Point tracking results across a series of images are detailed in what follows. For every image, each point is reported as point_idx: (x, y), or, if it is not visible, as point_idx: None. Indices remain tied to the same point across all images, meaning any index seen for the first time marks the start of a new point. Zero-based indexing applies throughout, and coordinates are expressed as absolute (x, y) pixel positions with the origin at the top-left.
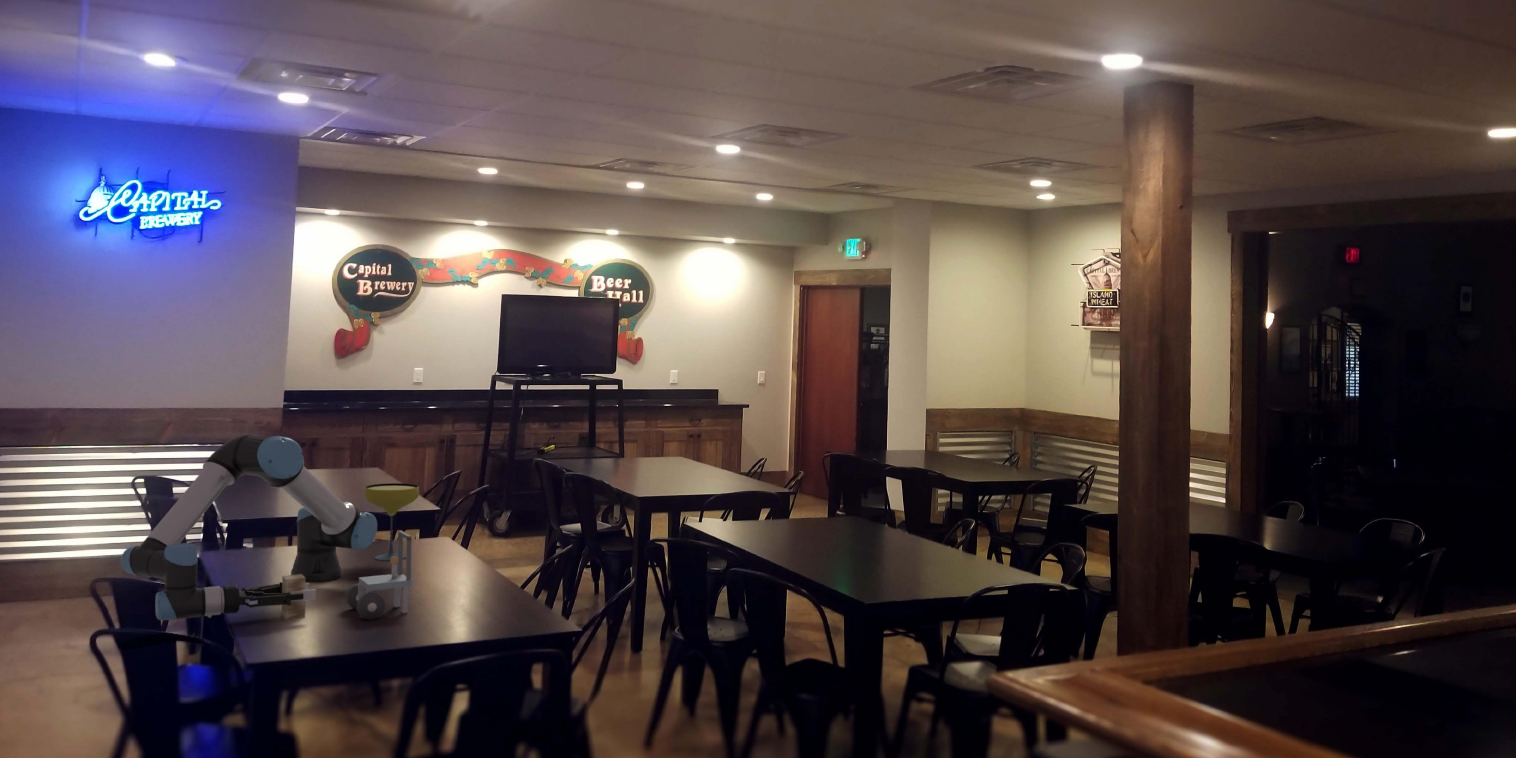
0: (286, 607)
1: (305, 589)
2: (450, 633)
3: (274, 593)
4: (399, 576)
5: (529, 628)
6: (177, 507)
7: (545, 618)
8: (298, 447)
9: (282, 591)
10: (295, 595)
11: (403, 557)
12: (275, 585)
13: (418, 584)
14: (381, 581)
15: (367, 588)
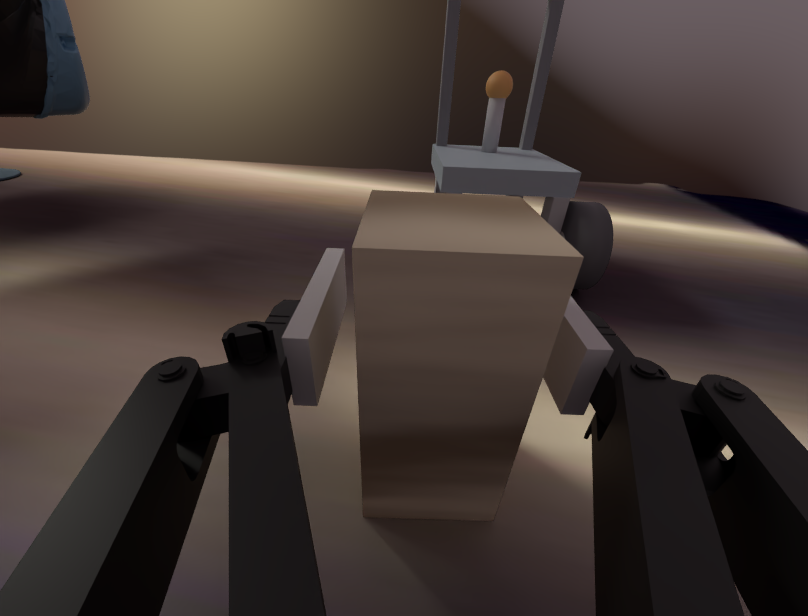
0: (508, 465)
1: (341, 292)
2: (715, 237)
3: (659, 483)
4: (473, 148)
5: (657, 196)
6: None
7: (593, 184)
8: None
9: (373, 391)
10: (623, 350)
11: (15, 171)
12: (190, 390)
13: (259, 196)
14: (533, 161)
15: (568, 189)
